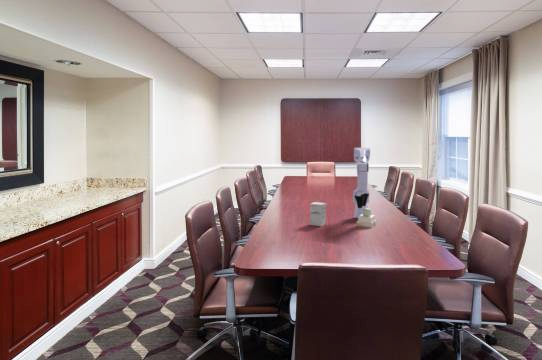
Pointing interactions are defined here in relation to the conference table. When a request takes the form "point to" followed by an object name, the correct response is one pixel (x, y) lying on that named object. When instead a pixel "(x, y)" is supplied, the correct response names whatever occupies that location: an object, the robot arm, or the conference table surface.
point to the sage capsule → (367, 212)
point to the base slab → (366, 224)
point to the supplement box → (317, 214)
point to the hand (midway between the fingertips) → (361, 206)
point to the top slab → (366, 218)
